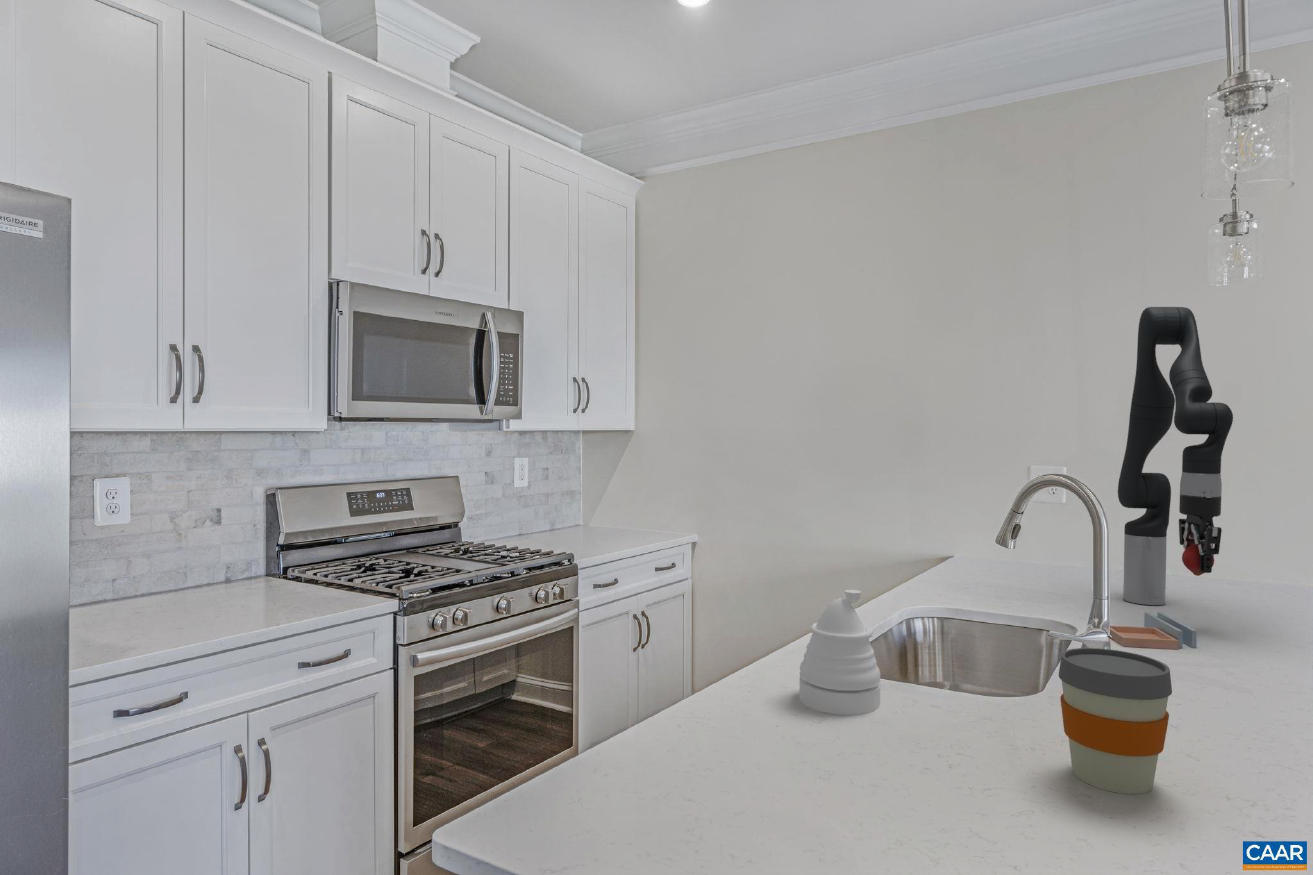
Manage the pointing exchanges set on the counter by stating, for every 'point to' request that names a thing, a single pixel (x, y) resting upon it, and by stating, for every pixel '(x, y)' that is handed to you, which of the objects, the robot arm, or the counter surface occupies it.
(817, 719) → the counter surface
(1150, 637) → the terracotta dish
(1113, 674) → the reusable coffee cup
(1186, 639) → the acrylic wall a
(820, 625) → the honey pot
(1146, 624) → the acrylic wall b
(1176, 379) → the robot arm
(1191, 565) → the pomegranate
